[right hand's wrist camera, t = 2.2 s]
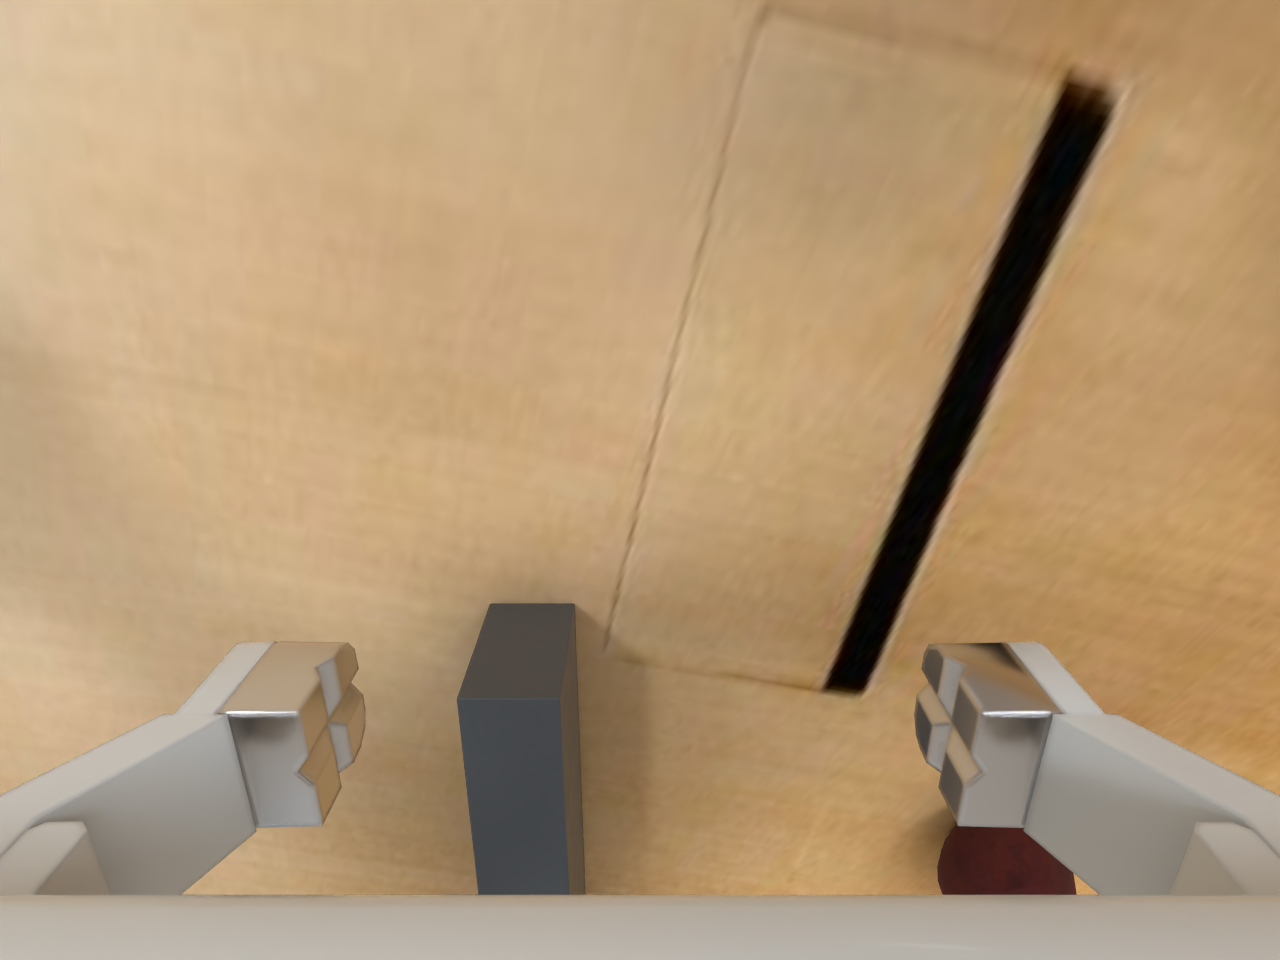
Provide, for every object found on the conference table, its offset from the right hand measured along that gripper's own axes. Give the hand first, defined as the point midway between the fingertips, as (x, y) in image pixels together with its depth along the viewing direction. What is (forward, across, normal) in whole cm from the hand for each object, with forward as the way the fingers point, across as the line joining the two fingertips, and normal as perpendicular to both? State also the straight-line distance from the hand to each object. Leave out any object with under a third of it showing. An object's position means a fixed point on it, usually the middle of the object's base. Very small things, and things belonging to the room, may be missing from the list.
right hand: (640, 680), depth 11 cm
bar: (+26, -6, -27) cm, 39 cm away
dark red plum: (+26, +21, -31) cm, 46 cm away
